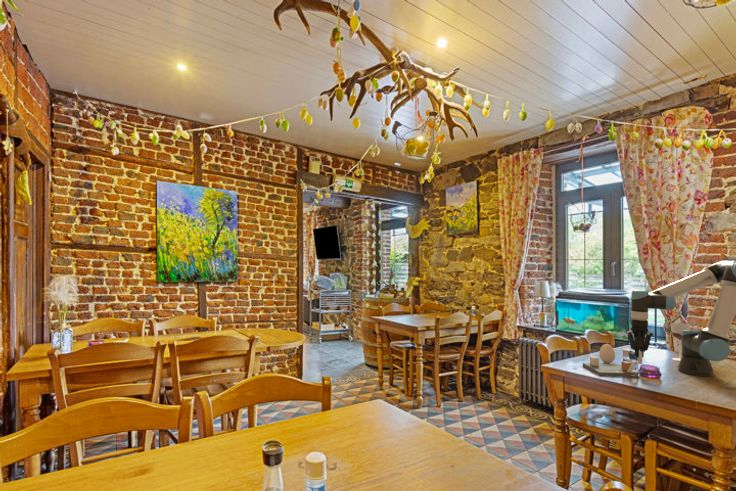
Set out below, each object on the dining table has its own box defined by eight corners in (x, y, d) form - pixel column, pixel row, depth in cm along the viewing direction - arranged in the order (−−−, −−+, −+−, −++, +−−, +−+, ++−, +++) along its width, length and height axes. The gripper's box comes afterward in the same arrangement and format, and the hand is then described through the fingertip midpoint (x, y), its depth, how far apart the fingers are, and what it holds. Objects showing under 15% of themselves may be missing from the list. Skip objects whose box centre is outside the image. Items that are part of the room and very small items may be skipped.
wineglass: (693, 361, 240) (693, 325, 240) (677, 361, 240) (677, 325, 240) (682, 357, 248) (682, 322, 249) (667, 357, 248) (666, 322, 249)
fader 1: (595, 363, 224) (595, 356, 224) (599, 365, 220) (599, 358, 220) (589, 363, 224) (589, 356, 224) (593, 365, 220) (593, 358, 220)
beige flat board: (618, 367, 225) (618, 363, 225) (638, 377, 207) (638, 373, 208) (582, 366, 226) (582, 362, 226) (599, 376, 208) (599, 372, 208)
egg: (598, 361, 239) (598, 342, 239) (613, 362, 236) (613, 343, 236) (600, 364, 231) (600, 344, 232) (616, 366, 228) (616, 346, 229)
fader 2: (627, 368, 214) (627, 361, 214) (631, 371, 210) (631, 363, 210) (621, 368, 214) (621, 361, 214) (625, 370, 210) (625, 363, 210)
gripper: (647, 318, 216) (647, 361, 215) (622, 317, 217) (622, 360, 216) (656, 320, 209) (656, 365, 208) (631, 319, 209) (630, 364, 209)
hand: (639, 363), depth 212 cm, fingers closed
